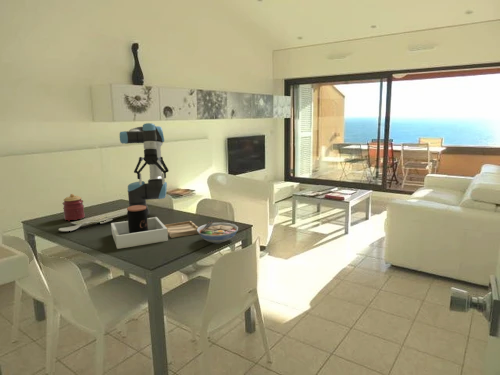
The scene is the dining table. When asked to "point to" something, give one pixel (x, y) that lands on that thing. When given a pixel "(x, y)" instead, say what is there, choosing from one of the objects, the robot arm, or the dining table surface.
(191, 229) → the tray
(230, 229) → the ramen bowl
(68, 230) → the spoon
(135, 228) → the coffee jar
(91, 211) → the dining table surface
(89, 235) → the dining table surface
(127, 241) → the crate
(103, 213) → the dining table surface
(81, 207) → the canister
